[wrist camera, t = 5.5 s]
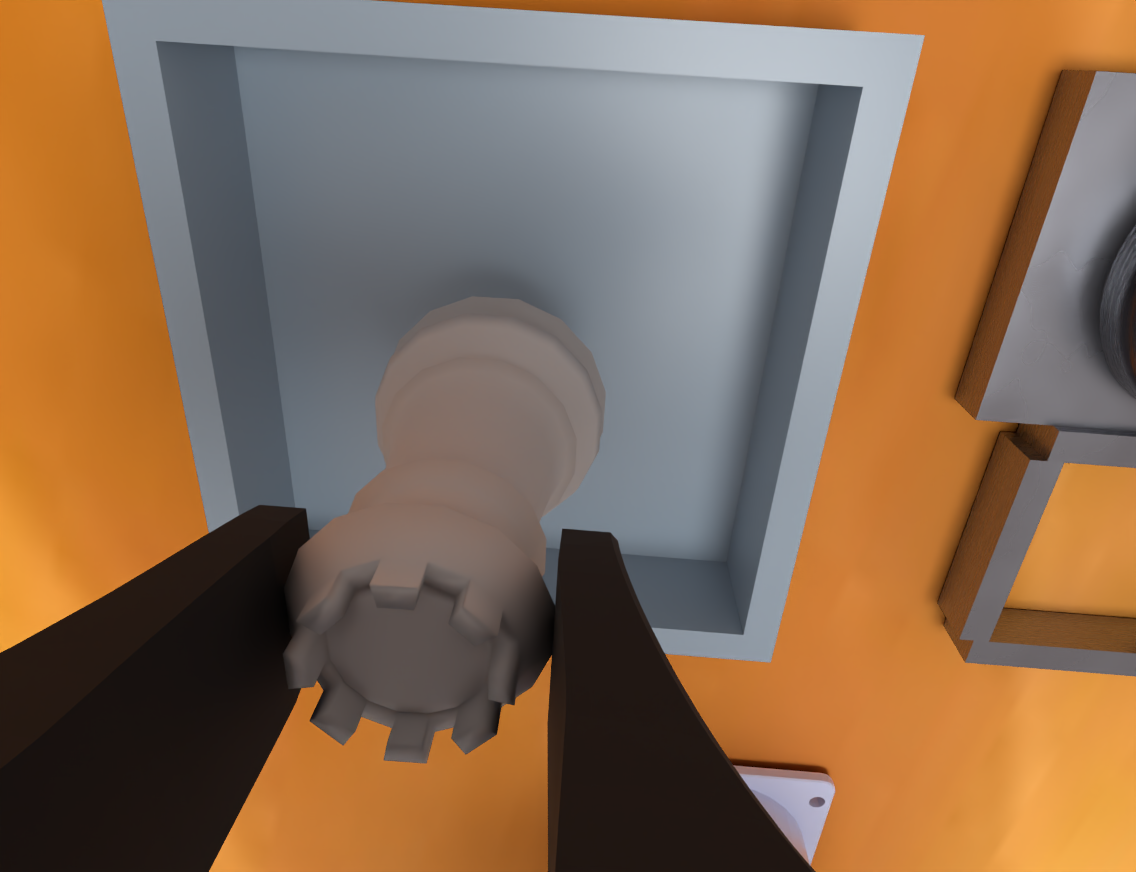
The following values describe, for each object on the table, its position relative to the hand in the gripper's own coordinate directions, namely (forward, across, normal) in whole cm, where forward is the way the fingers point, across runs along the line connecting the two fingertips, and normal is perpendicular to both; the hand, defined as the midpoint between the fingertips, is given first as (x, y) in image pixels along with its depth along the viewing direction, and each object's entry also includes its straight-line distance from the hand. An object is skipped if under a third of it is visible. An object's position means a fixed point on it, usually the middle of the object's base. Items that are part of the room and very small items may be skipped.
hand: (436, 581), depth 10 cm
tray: (+10, 0, 0) cm, 10 cm away
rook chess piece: (+6, 0, 0) cm, 6 cm away
